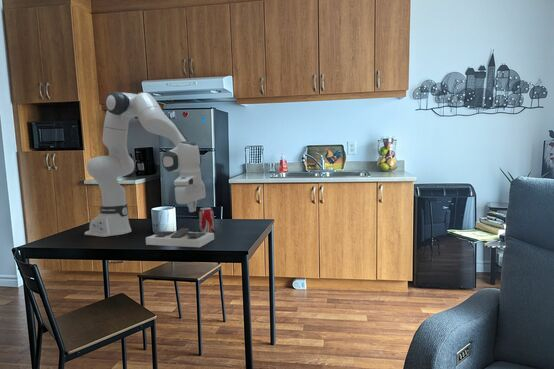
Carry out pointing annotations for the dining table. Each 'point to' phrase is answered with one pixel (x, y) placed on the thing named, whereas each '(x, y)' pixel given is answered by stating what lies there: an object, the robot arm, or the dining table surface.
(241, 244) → the dining table surface
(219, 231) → the dining table surface
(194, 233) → the rocker
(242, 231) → the dining table surface
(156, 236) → the rocker switch panel
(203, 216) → the soda can
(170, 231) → the rocker
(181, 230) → the middle rocker
